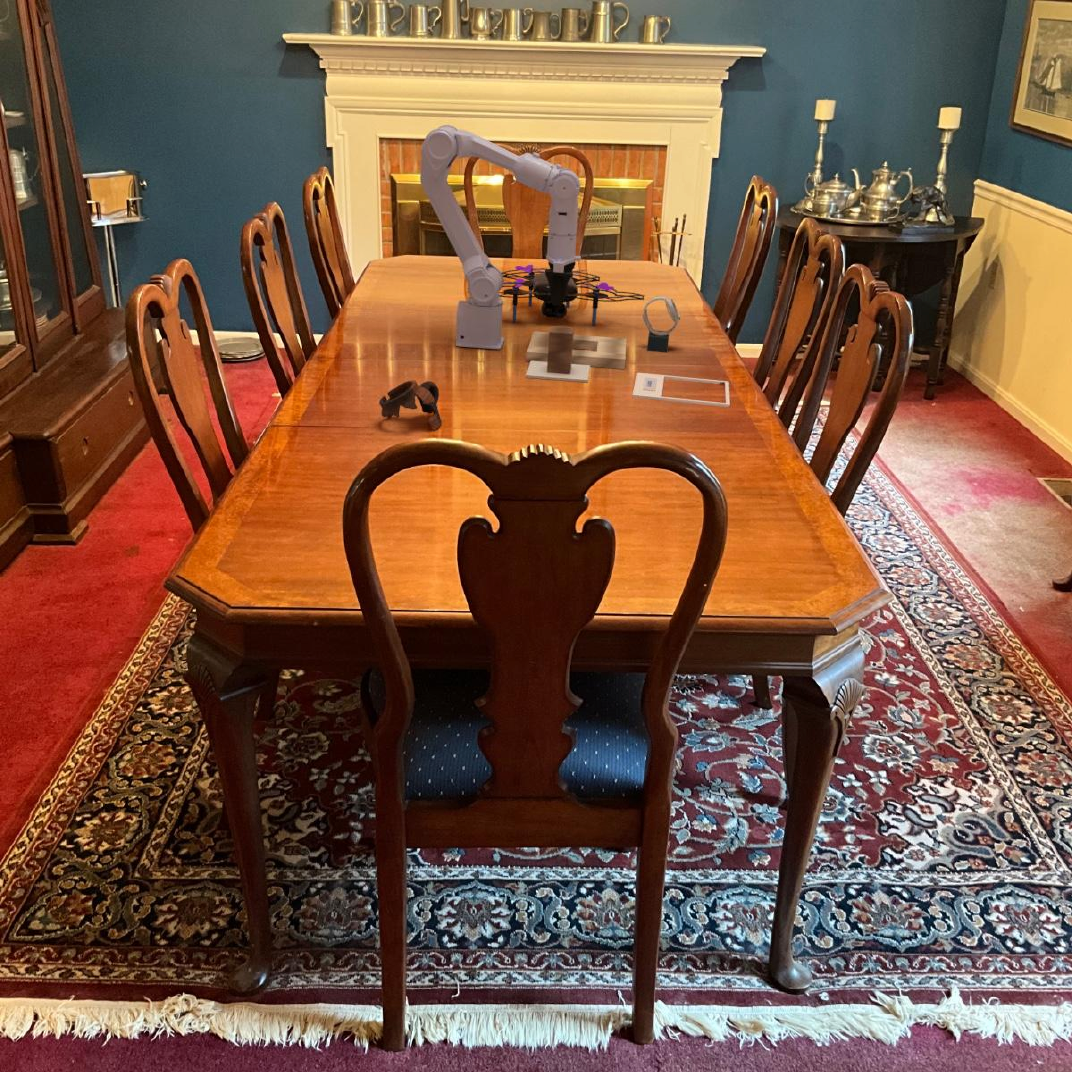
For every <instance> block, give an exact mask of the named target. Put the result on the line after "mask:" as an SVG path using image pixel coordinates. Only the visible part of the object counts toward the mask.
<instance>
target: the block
mask: <svg viewBox="0 0 1072 1072" xmlns="http://www.w3.org/2000/svg"><path fill="white" fill-rule="evenodd" d="M548 332H549V346H548V361H547V372H548V373H560V374H570V371H571V363H572V350H574V349H573V336H574V335H575V334H574V333H575V328H574V327H563V326H562V327H561V326H550V329H549V331H548Z"/></svg>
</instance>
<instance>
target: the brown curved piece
mask: <svg viewBox="0 0 1072 1072" xmlns="http://www.w3.org/2000/svg"><path fill="white" fill-rule="evenodd" d="M387 396H388V397H389V398H388V399H387V397H386V395H383V396H382V397H381V398H380V399H379V402H378V405H379V406H380V407H381V412H380V414H381V417H383V418H387V419H389V420H391V419H392V417H393V416H394V417H395V418H396V419H397V418H398V419H399V418H400V411H401V407H402V408H404V409H409V410H416V409H418V405H417V403H416V398H417V400H418V401H419V405H420V407H421V411H422V412H423V413H427V414H432V415H431V416H430V417H429V419H427V422H428V424H429V425H430V430H431V431H432V432H434V431H436V430H437V429H438V428H439V427H440V426H441V425H442V419H441V415H440V413H439V410H438V406H437V405H438V402H439V399H440V398H439V397H440V390H439V388H438V386H437V385H436V383H435V382H433V381H430V380H429V381H425V382H422V383H421V384H420V385H419V384H418V383H417V381H416V380H408V381H404V382H402V383H401V384H398V385H397V386H396V387H394V388H392V389H391V390H389V391H387Z"/></svg>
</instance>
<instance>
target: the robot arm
mask: <svg viewBox="0 0 1072 1072" xmlns="http://www.w3.org/2000/svg"><path fill="white" fill-rule="evenodd" d="M540 155H541V154H540V153H537V152H536V151H535V152H532V153H529V152H525V153H524V154H523V153H522V154H521V155H518V154H515V153H513V152H512V151H510V150H507V149H505V148H504V147H501V146H499V145H497V144H496V143H494V142H491V141H489V140H488V139H486V138H483V137H482V136H480V135H477V134H475V133H473V132H470V131H468V130H465V129H458V128H457V127H455V126H453V125H450V124H444V125H440V126H439V127H437V128H434V129H432V130H431V131H429V132H428V133H427V135H426V136H425V138H424V141H423V143H422V146H421V148H420V156H421V158H420V159H421V160H420V177H419V181H420V184H421V188H422V189H423V191H424V193H425V195H426V196H427V197H426V198H427V199H428V201H429V203H430V205H431V207H432V209H433V210H434V212H435V215H436V216H437V219H438V220H439V222H440V224H441V227H442V228H443V230H444V232H445V234H446V236H447V238H448V239H449V241H450V244H451V246H452V247H453V249H454V251H455V253H456V255H457V258H458V259H459V261H460V263H461V266H462V270H463V275H464V278H465V280H466V282H467V293H468V295H469V297H468V298H467V300H459V301H458V304H457V309H456V328H455V329H456V330H455V337H456V339H455V347H461V348H462V347H464V348H474V349H475V348H476V349H486V350H501V349H502V347H503V345H504V343H505V339H506V338H504V337H502V325H503V324H502V322H503V306H504V305H503V303H504V302H503V301H504V300H503V299H502V297H500V296H499V295H500V293H499V292H501V290H502V289H503V288H504V287H503V286H504V285H503V283H504V281H505V279H504V277H503V275H504V274H503V275H502V273H501V270H499V269H498V268H497V267H496V266H495V265H494V264H493V263H492V262H491V259H490V258H489V256H488V255H487V254H486V253H485V252H484V251H483V248H482V247H481V245H480V243H479V241H478V239H477V237H476V235H475V233H474V231H473V229H472V227H471V226H470V223H469V221H468V219H467V217H466V216H465V213H464V211H463V209H462V208H461V206H460V204H459V202H458V199H457V198H456V195H455V194H454V192H453V190H452V187H451V186H450V184H449V181H448V177H449V176H450V175H449V174H450V171H451V168H452V167H453V166H452V164H453V163H454V161H455V160H456V159H457V158H458V159H464V158H471V157H472V158H473V157H474V158H475V157H476V158H478V159H481V160H483V161H485V162H489V163H490V164H493V165H495V166H498V167H500V168H503V169H505V170H508V171H510V172H511V173H513V176H514V179H515V181H516V182H518V183H520V184H523V185H524V186H527V187H529V188H531V189H534V190H536V191H538V192H540V193H542V194H544V195H546V194H549V195H550V197H551V200H550V209H549V214H548V215H549V216H548V229H547V230H548V234H547V252H546V255H545V259H546V260H547V261H548V263H547V265H548V266H549V268H544V269H545V270H544V272H545V275H546V277H547V280H548V283H549V287H550V294H551V302H552V305H557V306H562V305H563V304H564V303H565V302H564V298H565V295H566V291H567V287H568V282H569V280H570V278H571V276H572V275H573V274H574V273H573V272H572V271H574V269H575V268H574V267H576V264H577V263H576V262H581V260H582V256H580V255H576V252H577V251H576V249H577V247H576V246H577V234H578V217H579V210H578V206H579V199H578V197H579V194H580V190H581V189H580V188H581V181H580V178H579V176H578V175H577V173H575V172H574V171H572V169H570V168H562V167H563V166H562V164H559V163H557V164H554V163H552V162H549V161H546V160H545V159H542V158H541V157H540ZM573 268H574V269H573ZM573 276H574V275H573ZM563 302H564V303H563Z"/></svg>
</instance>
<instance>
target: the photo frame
mask: <svg viewBox="0 0 1072 1072" xmlns="http://www.w3.org/2000/svg"><path fill="white" fill-rule="evenodd" d="M664 379H665V380H674V381H684V382H695V383H702V384H703V383H705V384H715V385H716V384H717V385H721V384H724V387H725V389H724V392H725V402H717V401H710V400H709V401H707V400H697V399H689V398H679V397H668V396H667V397H666V396H662V395H663V394H662V393H663V386H664ZM634 381H635V382H634V387H633V391H632V395H631V396H632V397H631V398H632V399H633V398H634V399H643V400H644V399H645V400H654V401H655V400H656V401H663V402H671V403H672V402H675V403H681V404H682V403H683V404H693V405H704V406H712V407H721V408H722V407H723V408H730V406H731V405H730V388H729V387H730V382H729V381H727V380H715V379H708V378H707V379H706V378H694V377H688V376H687V377H686V376H684V377H683V376H676V375H665V374H656V373H645V372H637V373H636V376H635V380H634Z"/></svg>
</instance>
